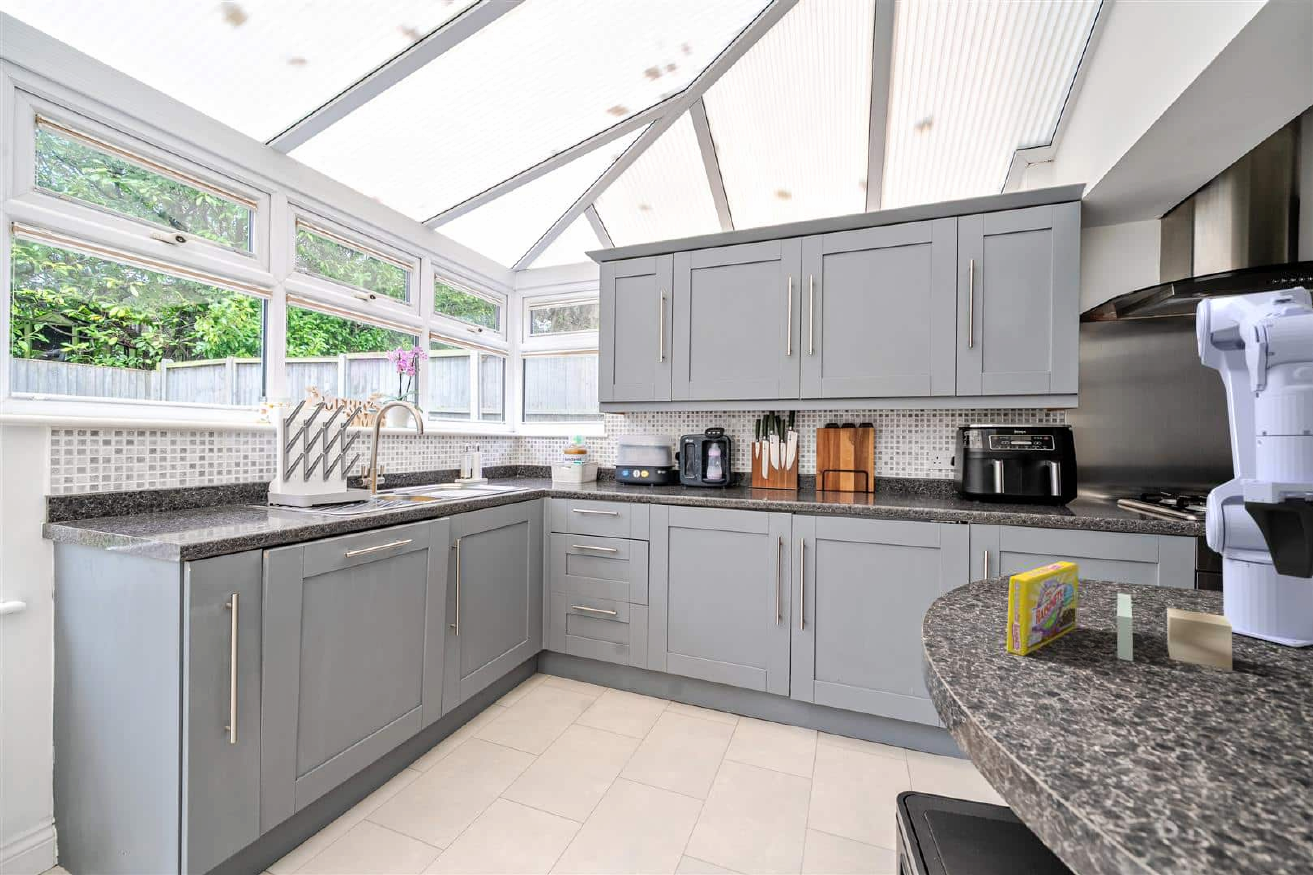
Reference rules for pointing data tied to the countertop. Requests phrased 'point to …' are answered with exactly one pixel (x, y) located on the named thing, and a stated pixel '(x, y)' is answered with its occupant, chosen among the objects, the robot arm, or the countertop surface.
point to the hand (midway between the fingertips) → (1301, 575)
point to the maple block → (1199, 638)
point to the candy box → (1041, 606)
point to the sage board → (1124, 627)
